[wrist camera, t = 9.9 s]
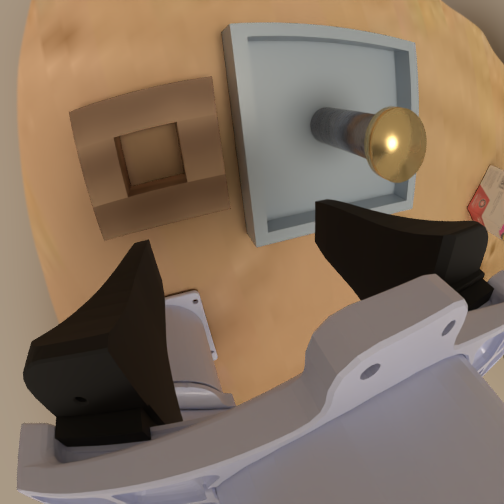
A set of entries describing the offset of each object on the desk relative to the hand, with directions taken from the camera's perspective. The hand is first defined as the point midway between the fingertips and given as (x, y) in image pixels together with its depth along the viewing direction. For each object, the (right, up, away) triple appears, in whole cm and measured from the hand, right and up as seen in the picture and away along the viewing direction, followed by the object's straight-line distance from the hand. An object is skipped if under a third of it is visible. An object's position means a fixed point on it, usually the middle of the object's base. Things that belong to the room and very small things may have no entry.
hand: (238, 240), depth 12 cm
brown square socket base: (-6, +6, +7) cm, 11 cm away
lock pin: (+6, +9, +9) cm, 14 cm away
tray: (+7, +10, +9) cm, 15 cm away
